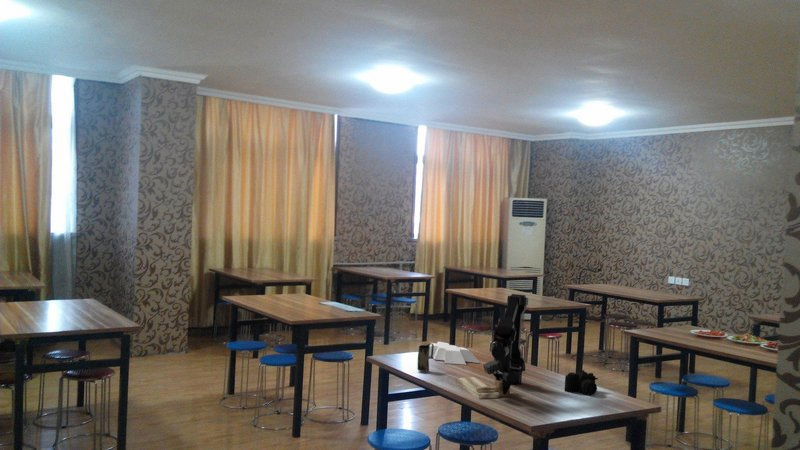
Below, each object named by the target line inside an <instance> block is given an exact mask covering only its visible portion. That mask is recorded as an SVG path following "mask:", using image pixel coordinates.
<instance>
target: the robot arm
mask: <svg viewBox="0 0 800 450" xmlns="http://www.w3.org/2000/svg"><path fill="white" fill-rule="evenodd" d="M526 295H527V294H517V293H511V295H507V300H506V301H507V302H506V304H507V305H506V309H505V312H504V316H503V317H502V319H501V320H499V321H498V324H497V325H496V326H495V330H494V335H493V339H492V340H493V341H492V342H494V343H495V342H496V345H494V346H493V348H492V349H491V356H492V357H493V360H490V361H488V362H486V363H483V364H482V367H483V370H484V373H486V374H487V375H492V376H493V377H494V378H495V380H502V383H503V394H506V393H507V391H508V389H509V388H510V389H511V386H516V385H518V386H519V385H521V386H522V385H524V383H523V382H522V377H523V372H526V361H525V359H524V354H523V351H522V349H521V336H522V335H521V334H522V325H523V324H522V323H523V322H522V321H523V314H524V312H526V310H527V306H528V305H529V298H528V297H527V296H526Z"/></svg>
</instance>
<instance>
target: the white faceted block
mask: <svg viewBox="0 0 800 450" xmlns="http://www.w3.org/2000/svg"><path fill="white" fill-rule="evenodd" d="M430 343H431V344H430ZM430 343H429V344H430V349H429V358H430V357H431V351H432V344H433V345H434V348H433V356H432V358H433V360H437V361H444V364H451V365H452V364H454V365H465V366H467V363H466V362H468V363H469V362H470V363H475V364H481V362H480V360H478V358H476V356H475V355H474V354H473V352H472V351H471V350H469V349H468V348H466V347H461V346H460V347H459V346H456V345H454V344H450V343H449V342H443V341H437V342H436V343H435V342H430Z"/></svg>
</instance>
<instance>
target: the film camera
mask: <svg viewBox="0 0 800 450" xmlns="http://www.w3.org/2000/svg"><path fill="white" fill-rule="evenodd" d="M577 370H578V369H577ZM596 380H599V377H596V376H595V375H594V373H593V372H589V373H588V372H587V371H585V370H583V369H582V370H580V369H579V370H578V371H577V372H568V373H567V375H565V378H564V392H566V393H581V394H585V395H587V396H593V395H595V394H596V393H597V390H598V387H597V383H596Z"/></svg>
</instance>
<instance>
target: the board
mask: <svg viewBox="0 0 800 450" xmlns="http://www.w3.org/2000/svg"><path fill="white" fill-rule="evenodd" d="M454 383H455V384H457V385H458V386H460V388H462V389H464V390H465V391H467V393H469V394H471V395H472V396H473V397H476V398H477V399H479V400H480V399H497V398H500V397H499V393H498V392H496V391H495V390H493V391H477V390H476V387H490V386H489V385H487V384H485V383H484V382H483V381H481V380H479V379H478V378H476V377H475V376H471V377H468V376H467V377H455V379H454Z"/></svg>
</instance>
